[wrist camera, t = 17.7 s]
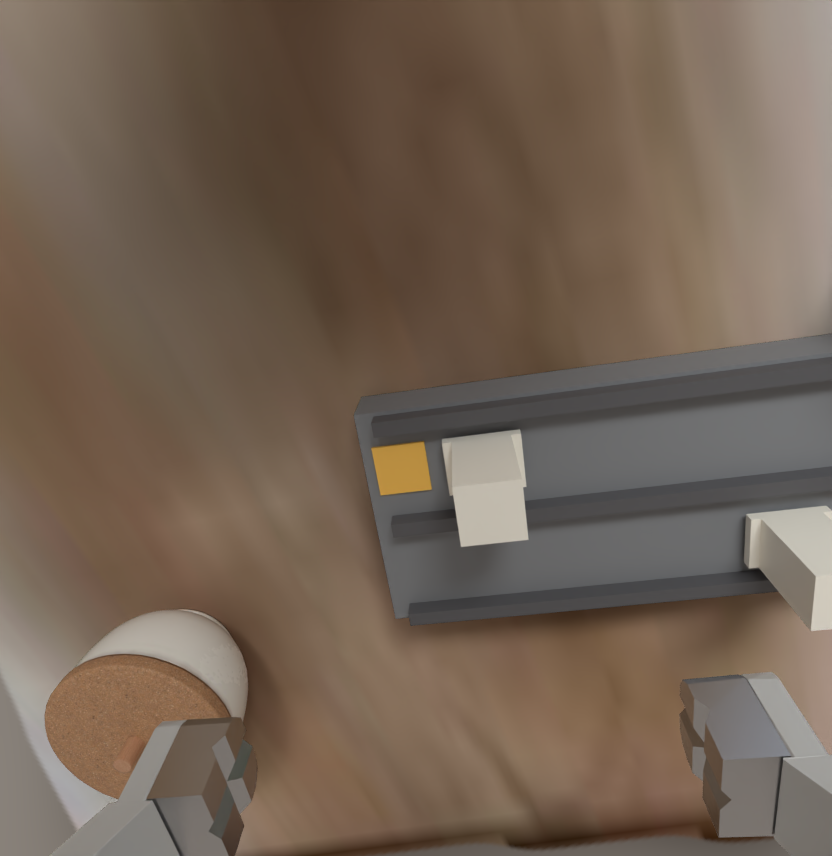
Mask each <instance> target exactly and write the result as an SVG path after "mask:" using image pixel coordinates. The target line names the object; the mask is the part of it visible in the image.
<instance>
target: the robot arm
mask: <svg viewBox="0 0 832 856" xmlns="http://www.w3.org/2000/svg"><path fill="white" fill-rule="evenodd" d="M680 698H681V700H682V702H683V705H684V707H685V709H684V710H683V711H682V712H681V713H680V714H679V716H680V732H681V738H682V744H683V748H684V751H685V754H686V757H687V760H688V763H689V765H690V768H691V770H692V773H694V774H695V775H696V776H697V777H699V778H700V779H701V780H702V781H703V796H702V798H703V800H704V803H705V805H706V807H707V810H708V812H709V815H710V817H711V820H712V822H713V824H714V827H715V829H716V832H717V834H718V837H753V836H774V839H775V840H776V841H777V842H778V843H779V844H780V845H781V846H782V847H783V848H784V849H785V850H786V851H787V852H788V853H789V854H790V855H791V856H832V755H829V754H828V753H827V751H826V750H825V748H824V747H823V745H822V744H821V742H820V740H819V739H818V737H817V736H816V734H815V733H814V731H813V730H812V728H811V727H810V725H809V724H808V722H807V721H806V719H805V718H804V716H803V715H802V713H801V711H800V710H799V708H798V707H797V705H796V704H795V702H794V701H793V699H792V698H791V696H790V695H789V693H788V692H787V690H786V689H785V687H784V686H783V684H782V682H781V681H780V679H779V678H778V676H776V675H775V674H774V673H772V672H766V673H754V674H742V675H728V676H717V677H707V678H696V679H685V680H682V681H681V684H680ZM245 732H246V728H245V726H244V724H243V721H242V719H241V718H240V717H225V718H206V719H187V720H176V721H163V722H162V723H160V724H159V725H158V726H157V727H156V728H155V730H154V732H153V734H152V736H151V737H150V739H149V741H148V743H147V745H146V747H145V749H144V751H143V753H142V755H141V757H140V759H139V761H138V762H137V764H136V766H135V768H134V770H133V772H132V774H131V776H130V778H129V780H128V782H127V784H126V786H125V787H124V789H123V791H122V793H121V795H120V797H119V799H118V801H117V802H116V803H109V804H108V805H107V806H105V807H104V808H103V809H102V810H101V811H100V812H99V813H97V814H96V815H95V816H94V817H93V818H92V819H91V820H89V821H88V822H87V823H86V824H85V825H84V826H83V827H81V828H80V829H79V830H78V831H77V832H76V833H75V834H73V835H72V836H71V837H70V838H69V839H68V840H67V841H65V842H64V843H63V844H62V845H61V846H60V847H59V848H57V849H56V850H55V851H54V852H53V853H52V854H51V855H50V856H235V853H236V850H237V847H238V844H239V841H240V837H241V834H242V831H243V828H244V824H243V821H242V819H241V816H240V813H241V812H242V811H243V810H244V809H245V808H246V807H247V806H248V805H249V804H250V802H251V801H252V798H253V795H254V791H255V788H256V780H257V769H258V768H257V760H256V755H255V752H254V749H253V747H252V746H251V745H250V744H248V743H247V742H246V741H244V740H243V738H244V735H245Z"/></svg>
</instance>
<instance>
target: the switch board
mask: <svg viewBox="0 0 832 856" xmlns="http://www.w3.org/2000/svg"><path fill="white" fill-rule="evenodd" d="M354 419H355V424H356V429H357V434H358V439H359V444H360V448H361V453H362V458H363V463H364V468H365V473H366V477H367V482H368V487H369V492H370V497H371V502H372V507H373V511H374V516H375V521H376V526H377V531H378V536H379V541H380V545H381V550H382V555H383V560H384V565H385V570H386V574H387V579H388V584H389V589H390V594H391V599H392V604H393V608H394V613H395V618H396V619H398V618H409V620H410V625H411V626H413V625H424V624H435V623H445V622H456V621H467V620H478V619H488V618H499V617H510V616H521V615H531V614H542V613H553V612H564V611H574V610H585V609H596V608H607V607H617V606H628V605H639V604H650V603H660V602H671V601H682V600H693V599H703V598H714V597H725V596H736V595H746V594H757V593H768V592H778V590H777V589H776V588H775V587H774V586H773V584H772V583H771V582H770V581H769V579H768V578H767V577H766V576H765V575H764V573H763V572H762V571H761V570H760V569H759V568H748V567H747V565H746V564H745V563H744V548H745V525H746V514H752V513H761V512H771V511H780V510H790V509H799V508H808V507H818V506H827V507H828V508H830V509H831V510H832V334H827V335H819V336H812V337H804V338H797V339H789V340H782V341H774V342H767V343H760V344H752V345H745V346H737V347H730V348H722V349H715V350H708V351H700V352H693V353H685V354H678V355H670V356H663V357H655V358H648V359H641V360H633V361H626V362H618V363H611V364H603V365H596V366H588V367H581V368H574V369H566V370H559V371H551V372H544V373H536V374H529V375H522V376H514V377H507V378H499V379H492V380H484V381H477V382H469V383H462V384H455V385H447V386H440V387H432V388H425V389H417V390H410V391H403V392H395V393H388V394H380V395H373V396H365V397H361V399H360V402H359V404H358V406H357V409H356V411H355V413H354ZM518 429H520V432H521V438H522V448H523V457H524V467H525V477H526V487H523V491H524V501H525V511H526V520H527V530H528V540H522V541H513V542H503V543H494V544H484V545H475V546H465V547H461V544H460V537H459V530H458V524H457V517H456V511H455V504H454V497H453V495H452V496H450V493H449V487H448V480H447V474H446V467H445V461H444V454H443V448H442V439H446V438H454V437H462V436H470V435H478V434H486V433H494V432H502V431H510V430H518Z"/></svg>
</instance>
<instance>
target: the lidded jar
mask: <svg viewBox="0 0 832 856" xmlns="http://www.w3.org/2000/svg"><path fill="white" fill-rule="evenodd" d="M247 695H248V678H247V669H246V665H245V662H244V659H243V656H242V653H241V651H240V649H239V647H238V646H237V644H236V643H235V641H234V640H233V638H232V637H231V635H230V633H229V632H228V630H227V629H226V628H225V627H224V626H223V625H222V624H221V623H220V622H219V621H218V620H216V619H215V618H213V617H211V616H209V615H207V614H205V613H203V612H199V611H196V610H191V609H176V610H159V611H154V612H150V613H146V614H142V615H140V616H137V617H134V618H132V619H130V620H128V621H126V622H124V623H123V624H121V625H119V626H118V627H116V628H115V629H113V630H112V631H111V632H109V633H108V634H107V635H105V636H104V637H103V638H102V639H101V640H100V641H99V642H98V643H97V644H96V645H95V646H94V647H92V648H91V649H90V650H89V651H88V652H87V653H86V655H85V656H84V657H83V658H82V659H81V660H80V661H79V663H78V664H77V665H76V666H75V668H74V669H73V670H72V671H71V672H69V673H68V674H67V675H66V676H65V677H64V678H63V679H62V681H61V682H60V683H59V684H58V686H57V687H56V688H55V690H54V691H53V693H52V694H51V695H50V698H49V700H48V703H47V705H46V711H45V729H46V733H47V737H48V740H49V742H50V745H51V747H52V749H53V751H54V752H55V754H56V755H57V757H58V758H59V760H60V761H61V762H62V763H63V764H64V765H65V767H66V768H67V769H68V770H69V771H70V772H71V773H73V774H74V775H75V776H76V777H77V778H78V779H80V780H81V781H83V782H84V783H86V784H87V785H89V786H90V787H92V788H94V789H96V790H97V791H99V792H101V793H103V794H106V795H108V796H111V797H113V798H116V799H119V797H120V795H121V793H122V791H123V789H124V787H125V786H126V784H127V782H128V780H129V778H130V776H131V774H132V772H133V770H134V768H135V766H136V764H137V762H138V761H139V759H140V757H141V755H142V753H143V751H144V749H145V747H146V745H147V743H148V741H149V739H150V737H151V736H152V734H153V732H154V730H155V728H156V727H157V726H158V725H159V724H160V723H162V722H163V721H176V720H187V719H206V718H225V717H240V718H241V719H242V721H243V719H244V715H245V711H246V704H247Z"/></svg>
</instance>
